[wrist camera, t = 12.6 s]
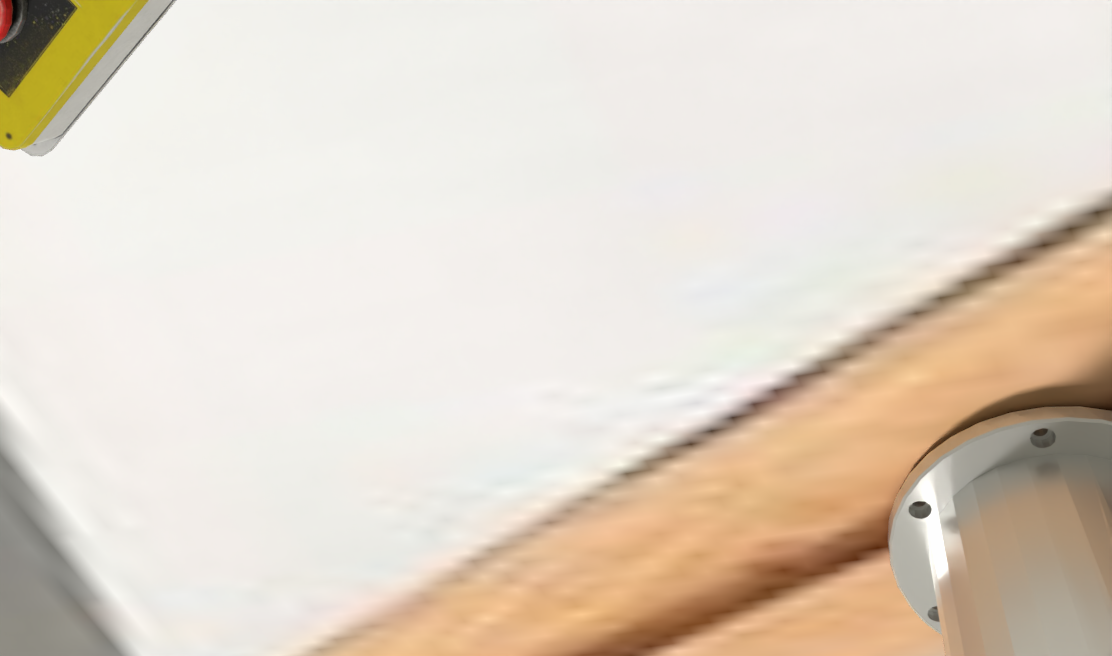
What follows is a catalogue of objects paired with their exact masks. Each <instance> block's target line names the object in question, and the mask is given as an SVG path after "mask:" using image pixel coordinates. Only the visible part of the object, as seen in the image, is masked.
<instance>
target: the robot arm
mask: <svg viewBox="0 0 1112 656" xmlns="http://www.w3.org/2000/svg"><path fill="white" fill-rule="evenodd" d="M1041 428H1042V429H1041ZM1038 429H1039V430H1038ZM888 546H889V553H890V563H891V567H892V570H893V573H894V576H895V579H896V582H897V586H898V588H899V589H900V591H901V593H902V594H903V596H904V597H905V599H906V601H907V602H908V604H909V606H910V607H911V608H912V609H913V610H914V612H915V613H916V614H917V615H918V616H919V617H920V618H921V619H922V620H923V621H924V622H925V623H926V624H927V625H928V626H930V627H931V628H932V629H934V630H935V631H936V632H938V633H939V634H941V635H942V638H943V644H944V650H945V656H1112V411H1110V410H1102V409H1095V408H1088V407H1080V406H1071V407H1041V408H1035V409H1028V410H1022V411H1016V412H1010V413H1007V414H1004V415H1001V416H998V417H995V418H992V419H988V420H985V421H982V422H979V423H977V424H975V425H973V426H971V427H969V428H967V429H965V430H963V431H961V432H959V433H957V434H955V435H953V436H951V437H950V438H949V439H947V440H946V441H945V442H943V443H942V444H940V445H939V446H938V447H936V448H935V449H934V450H932V451H931V452H930V453H928V454H927V455H926V456H925V457H924V458H923V460H922V461H921V462H920V463H919V464H918V465H917V466H916V467H915V468H914V469H913V470H912V471H911V473H910V474H909V475H908V477H907V478H906V480H905V482H904V483H903V485H902V487H901V489H900V490H899V492H898V494H897V495H896V498H895V501H894V504H893V508H892V511H891V514H890V517H889V529H888Z"/></svg>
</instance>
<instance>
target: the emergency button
mask: <svg viewBox="0 0 1112 656" xmlns="http://www.w3.org/2000/svg"><path fill="white" fill-rule="evenodd" d="M175 1H176V0H0V147H2V148H3V149H9V150H17V149H21V150H23V151H25V152H26V153H28V154H29V155H31V156H44V155H45V154H47V153H49V152H50V151H52V150H53V149H54V148H55V147H56V145H57V144H58V143H59V142H60V140H61V139H62V138H63V137H64V136H65V134H66V133H67V132H68V131H69V130H70V128H71V127H72V126H73V125H74V124H75V122H76V121H77V120H78V119H79V117H80V116H81V115H82V114H83V113H84V111H85V110H86V109H87V108H88V107H89V105H90V104H91V103H92V102H93V101H94V99H95V98H96V97H97V96H98V95H99V93H100V92H101V91H102V90H103V88H104V87H105V86H106V85H107V84H108V82H109V81H110V80H111V79H112V78H113V76H114V75H115V74H116V73H117V72H118V70H119V69H120V68H121V67H122V65H123V64H124V63H125V62H126V61H127V59H128V58H129V57H130V56H131V55H132V53H133V52H134V51H135V50H136V49H137V47H138V46H139V45H140V44H141V43H142V41H143V40H144V39H145V38H146V36H147V35H148V34H149V33H150V32H151V30H152V29H153V28H154V27H155V26H156V24H157V23H158V22H159V21H160V20H161V18H162V17H163V16H164V15H165V14H166V12H167V11H168V10H169V9H170V7H171V6H172V5H173V4H174V3H175Z"/></svg>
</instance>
